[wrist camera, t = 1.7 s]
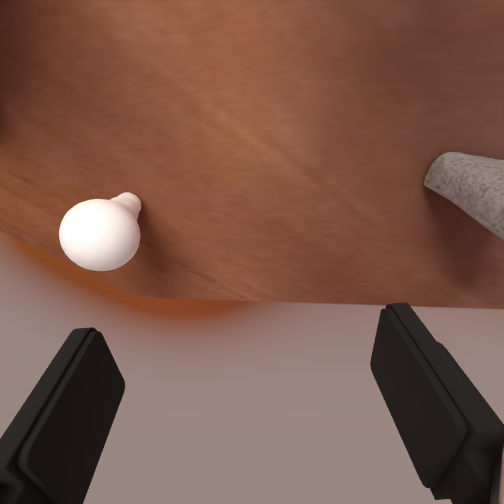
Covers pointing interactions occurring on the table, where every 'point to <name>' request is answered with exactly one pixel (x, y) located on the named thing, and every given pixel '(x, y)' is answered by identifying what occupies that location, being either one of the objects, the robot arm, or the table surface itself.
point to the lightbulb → (102, 232)
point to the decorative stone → (471, 186)
